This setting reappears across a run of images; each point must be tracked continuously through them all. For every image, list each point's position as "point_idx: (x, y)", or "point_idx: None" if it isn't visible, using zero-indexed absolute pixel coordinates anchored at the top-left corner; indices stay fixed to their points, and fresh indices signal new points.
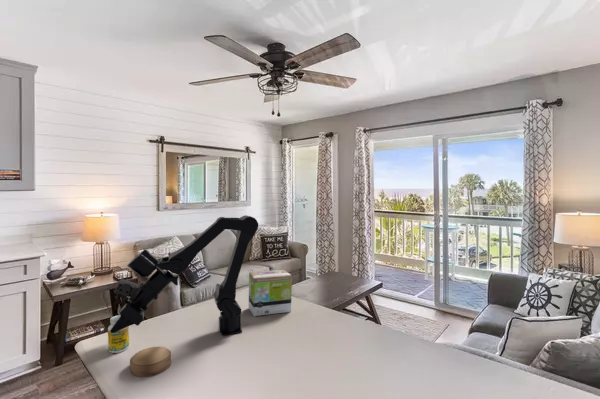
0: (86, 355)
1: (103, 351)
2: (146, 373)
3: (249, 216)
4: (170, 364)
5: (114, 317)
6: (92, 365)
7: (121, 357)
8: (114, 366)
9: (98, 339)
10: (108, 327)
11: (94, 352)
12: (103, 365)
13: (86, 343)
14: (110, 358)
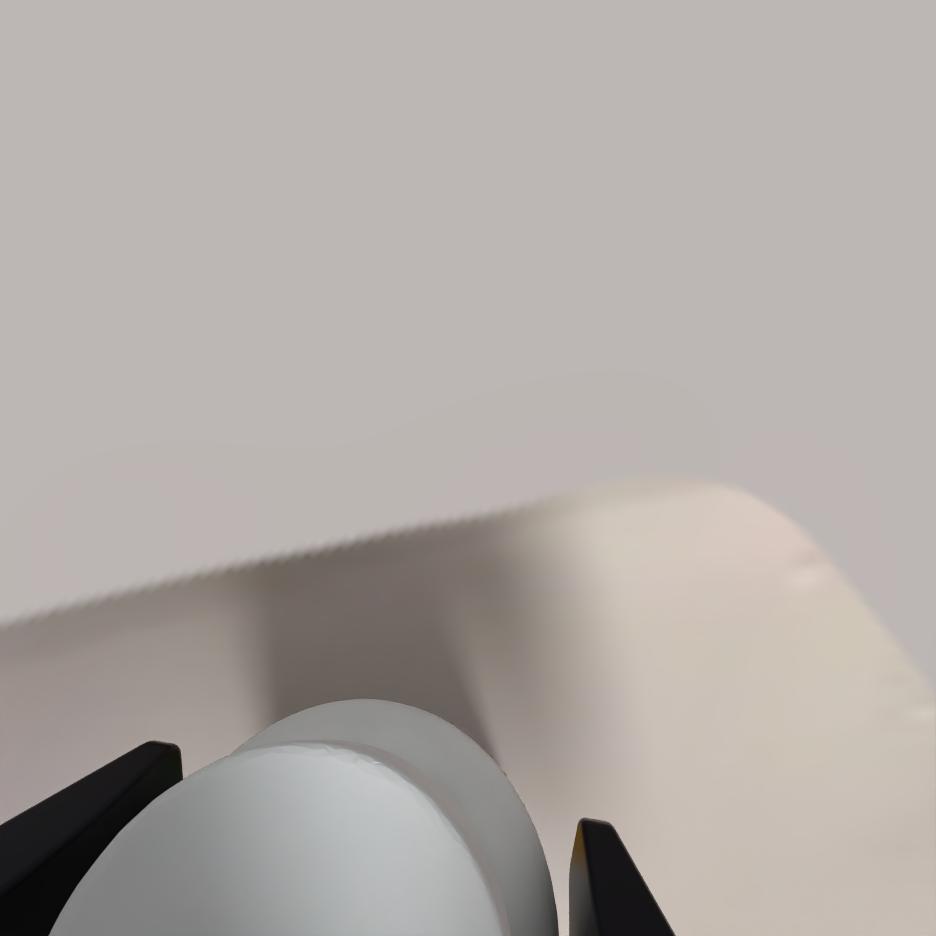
0: (440, 531)
1: (442, 674)
2: None
3: None
4: None
5: (340, 879)
6: (199, 588)
7: None
8: (8, 791)
9: (784, 615)
10: (354, 706)
11: (466, 592)
12: (122, 681)
13: (716, 514)
14: (224, 749)
